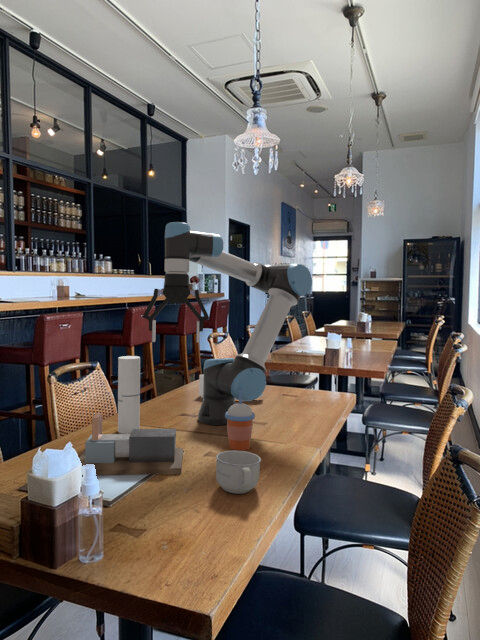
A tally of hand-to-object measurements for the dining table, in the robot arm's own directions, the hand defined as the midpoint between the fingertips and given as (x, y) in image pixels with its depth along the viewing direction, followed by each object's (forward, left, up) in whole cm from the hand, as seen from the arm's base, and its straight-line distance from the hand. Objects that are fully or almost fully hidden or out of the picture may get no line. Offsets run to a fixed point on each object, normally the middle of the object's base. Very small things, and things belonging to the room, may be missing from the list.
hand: (175, 341), depth 143 cm
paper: (-22, -60, -32) cm, 72 cm away
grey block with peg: (+15, +18, -29) cm, 37 cm away
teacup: (-17, +37, -32) cm, 52 cm away
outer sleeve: (+5, +18, -30) cm, 36 cm away
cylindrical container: (+16, -12, -32) cm, 38 cm away
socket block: (+19, +18, -30) cm, 40 cm away
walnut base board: (+11, +18, -32) cm, 38 cm away
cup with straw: (-20, +6, -32) cm, 38 cm away
